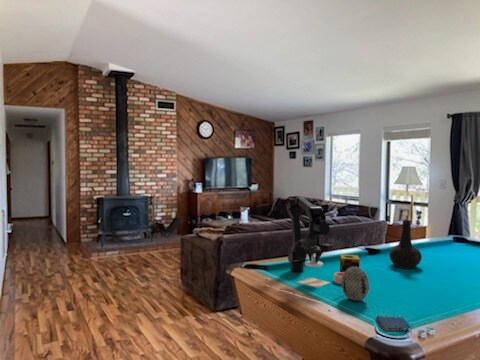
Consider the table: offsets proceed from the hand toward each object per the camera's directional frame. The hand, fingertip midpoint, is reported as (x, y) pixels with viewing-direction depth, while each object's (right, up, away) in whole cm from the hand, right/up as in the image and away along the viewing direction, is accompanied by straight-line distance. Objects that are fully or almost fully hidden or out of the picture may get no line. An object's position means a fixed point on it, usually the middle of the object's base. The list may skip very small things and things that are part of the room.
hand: (313, 262), depth 190 cm
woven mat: (+20, -14, -48) cm, 54 cm away
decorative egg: (+14, -12, -22) cm, 29 cm away
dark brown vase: (+62, -11, +37) cm, 73 cm away
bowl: (+15, -11, +2) cm, 19 cm away
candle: (+23, -11, +18) cm, 31 cm away
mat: (0, -11, +1) cm, 11 cm away
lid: (0, -1, 0) cm, 1 cm away
